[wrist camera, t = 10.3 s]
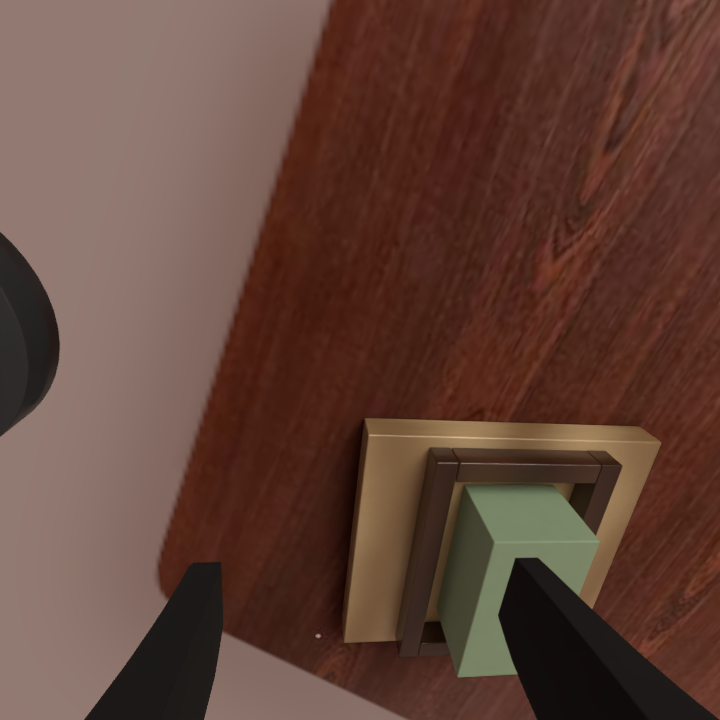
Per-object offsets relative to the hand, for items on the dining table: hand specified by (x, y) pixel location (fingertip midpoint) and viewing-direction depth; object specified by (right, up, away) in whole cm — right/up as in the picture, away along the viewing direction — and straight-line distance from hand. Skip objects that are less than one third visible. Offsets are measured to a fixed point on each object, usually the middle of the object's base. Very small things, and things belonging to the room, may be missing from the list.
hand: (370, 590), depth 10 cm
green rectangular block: (+6, -4, +11) cm, 13 cm away
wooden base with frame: (+6, -3, +12) cm, 14 cm away
